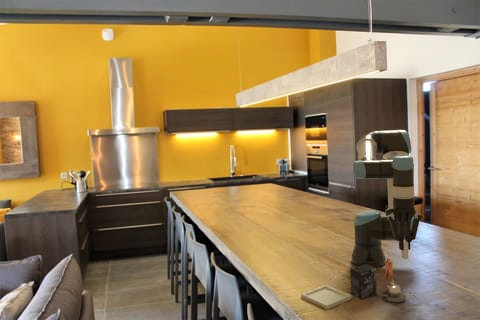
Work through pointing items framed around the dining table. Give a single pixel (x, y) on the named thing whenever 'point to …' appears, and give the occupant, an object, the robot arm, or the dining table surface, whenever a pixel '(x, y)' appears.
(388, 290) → the crank
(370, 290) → the box
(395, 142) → the robot arm
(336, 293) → the tray
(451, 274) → the dining table surface
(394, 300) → the crank base
